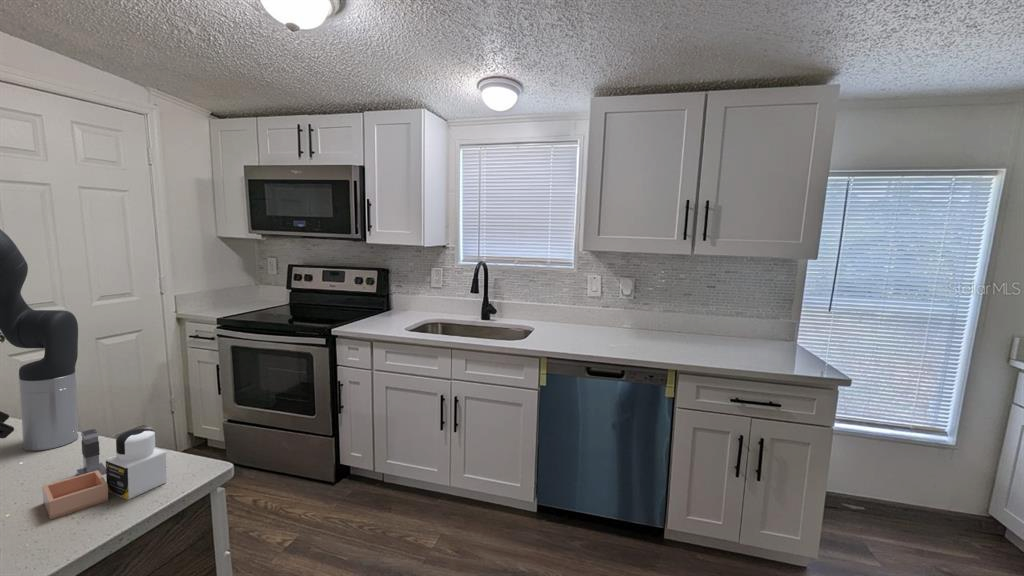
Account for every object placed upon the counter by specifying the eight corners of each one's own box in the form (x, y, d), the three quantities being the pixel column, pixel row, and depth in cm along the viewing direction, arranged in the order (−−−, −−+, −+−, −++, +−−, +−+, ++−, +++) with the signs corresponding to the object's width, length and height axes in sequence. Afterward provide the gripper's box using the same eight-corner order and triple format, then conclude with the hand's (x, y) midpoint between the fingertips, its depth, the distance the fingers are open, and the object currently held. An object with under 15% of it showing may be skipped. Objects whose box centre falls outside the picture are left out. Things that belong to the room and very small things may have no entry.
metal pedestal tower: (76, 474, 92) (74, 432, 91) (102, 466, 95) (100, 426, 94) (80, 480, 89) (78, 438, 88) (106, 473, 93) (104, 432, 92)
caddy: (43, 503, 82) (42, 486, 81) (98, 485, 88) (98, 469, 88) (50, 519, 77) (49, 502, 77) (108, 500, 83) (107, 483, 83)
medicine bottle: (106, 491, 86) (103, 436, 85) (146, 474, 93) (144, 422, 92) (127, 500, 84) (125, 443, 83) (167, 482, 90) (166, 429, 89)
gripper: (-77, 374, 69) (32, 420, 79) (-77, 357, 77) (22, 400, 87) (-133, 414, 65) (-11, 457, 75) (-127, 392, 73) (-17, 433, 84)
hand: (7, 426), depth 81 cm, fingers open, 8 cm apart
